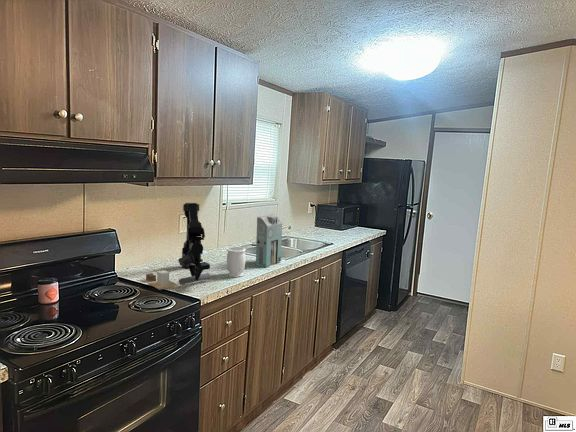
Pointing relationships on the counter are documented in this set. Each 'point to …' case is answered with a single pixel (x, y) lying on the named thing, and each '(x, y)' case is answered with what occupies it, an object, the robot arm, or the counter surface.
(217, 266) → the counter surface
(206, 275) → the grey rounded rod
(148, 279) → the block
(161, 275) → the white rectangular block
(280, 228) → the device
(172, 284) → the mat
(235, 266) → the jar
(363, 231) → the counter surface
